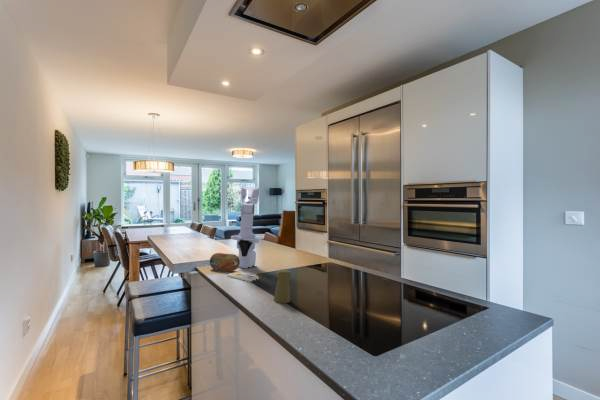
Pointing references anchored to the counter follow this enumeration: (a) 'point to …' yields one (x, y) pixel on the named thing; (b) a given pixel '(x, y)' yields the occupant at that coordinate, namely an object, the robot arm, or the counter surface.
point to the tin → (224, 262)
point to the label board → (243, 276)
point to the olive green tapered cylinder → (283, 287)
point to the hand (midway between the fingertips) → (244, 256)
